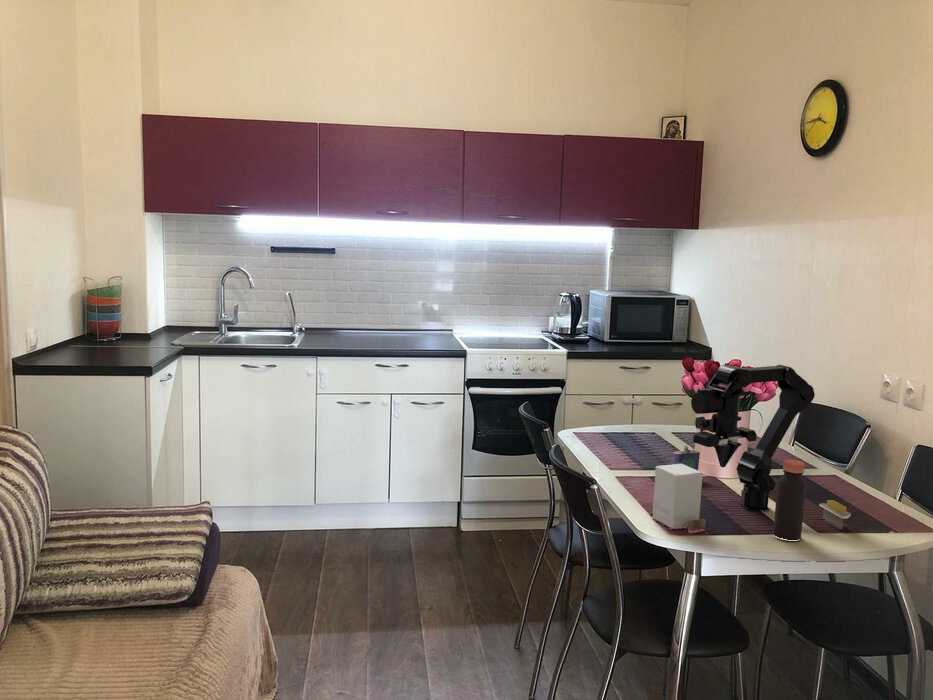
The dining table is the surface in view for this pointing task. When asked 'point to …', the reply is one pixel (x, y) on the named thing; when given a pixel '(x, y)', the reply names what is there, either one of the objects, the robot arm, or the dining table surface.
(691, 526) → the walnut slot
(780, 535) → the bottle
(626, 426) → the dining table surface
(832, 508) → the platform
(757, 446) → the robot arm
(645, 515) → the dining table surface
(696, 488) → the supplement box
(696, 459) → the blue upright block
